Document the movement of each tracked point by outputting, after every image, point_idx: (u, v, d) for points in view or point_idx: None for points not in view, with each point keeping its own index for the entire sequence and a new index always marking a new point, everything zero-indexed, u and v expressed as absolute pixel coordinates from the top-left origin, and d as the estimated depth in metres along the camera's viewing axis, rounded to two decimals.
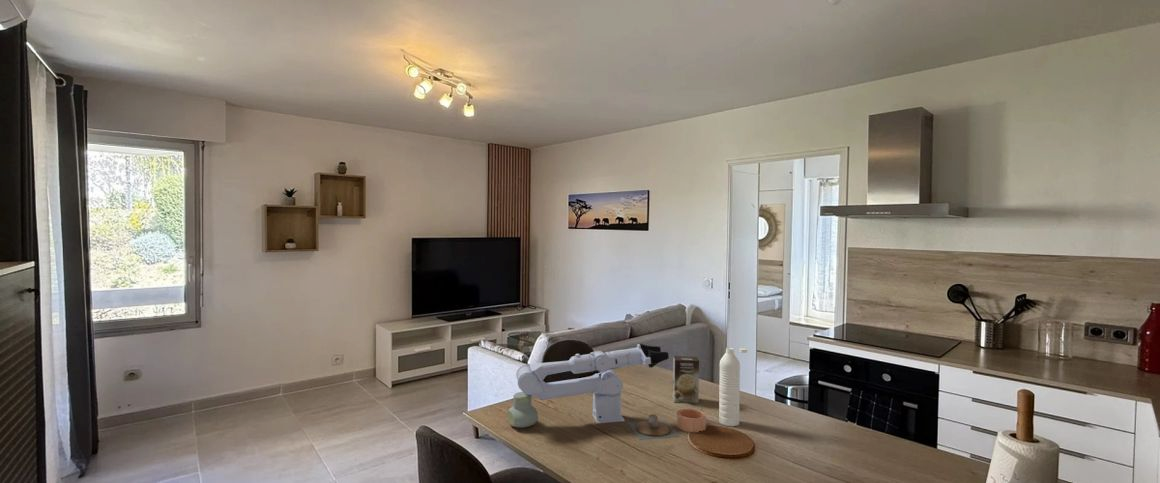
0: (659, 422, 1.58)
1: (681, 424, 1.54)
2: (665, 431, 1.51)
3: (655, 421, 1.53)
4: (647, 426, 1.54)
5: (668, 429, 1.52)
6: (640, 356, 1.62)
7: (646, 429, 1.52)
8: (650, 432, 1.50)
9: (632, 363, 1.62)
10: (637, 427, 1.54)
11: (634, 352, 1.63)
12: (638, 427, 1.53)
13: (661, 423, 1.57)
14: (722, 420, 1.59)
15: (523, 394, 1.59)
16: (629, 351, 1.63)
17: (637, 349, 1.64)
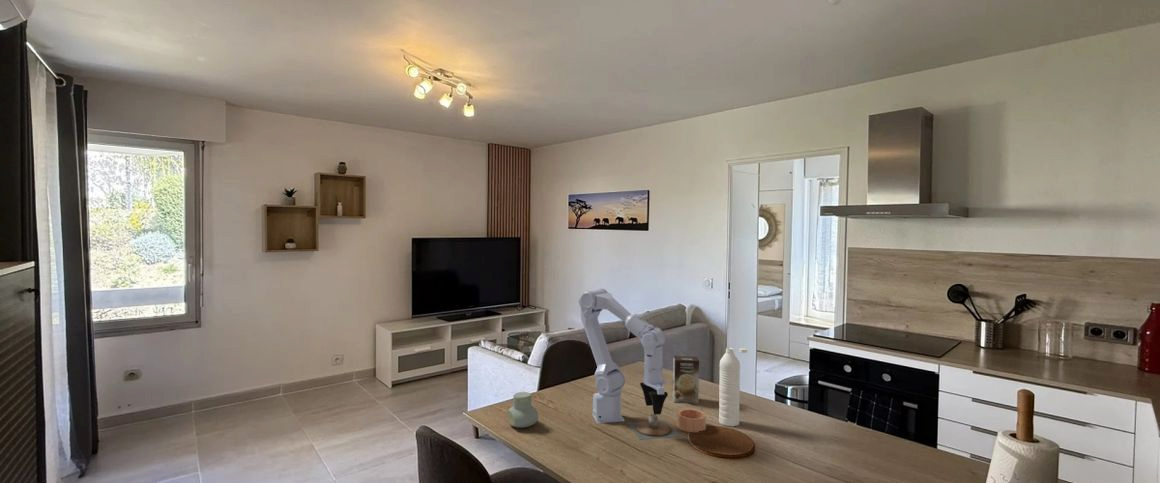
0: (659, 422, 1.58)
1: (681, 424, 1.54)
2: (665, 431, 1.51)
3: (655, 421, 1.53)
4: (647, 426, 1.54)
5: (668, 429, 1.52)
6: (658, 382, 1.51)
7: (646, 429, 1.52)
8: (650, 432, 1.50)
9: (651, 373, 1.51)
10: (637, 427, 1.54)
11: (661, 376, 1.52)
12: (638, 427, 1.53)
13: (661, 423, 1.57)
14: (722, 420, 1.59)
15: (523, 394, 1.59)
16: None
17: (662, 379, 1.53)
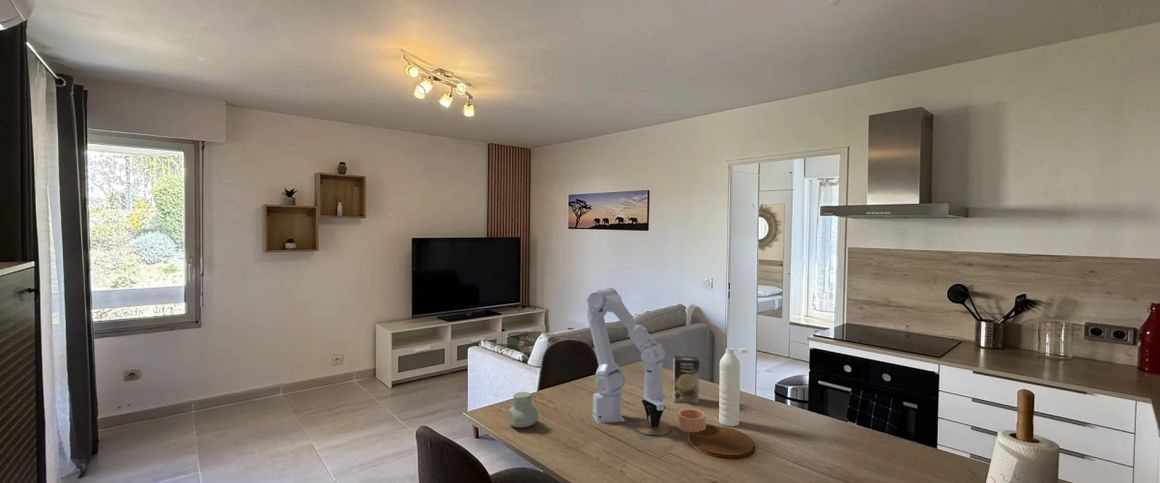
0: (659, 422, 1.58)
1: (681, 424, 1.54)
2: (665, 431, 1.51)
3: None
4: (647, 426, 1.54)
5: (668, 429, 1.52)
6: (658, 398, 1.51)
7: (646, 429, 1.52)
8: (650, 432, 1.50)
9: (651, 389, 1.51)
10: (637, 427, 1.54)
11: (661, 392, 1.52)
12: (638, 427, 1.53)
13: (661, 423, 1.57)
14: (722, 420, 1.59)
15: (523, 394, 1.59)
16: None
17: (662, 395, 1.53)
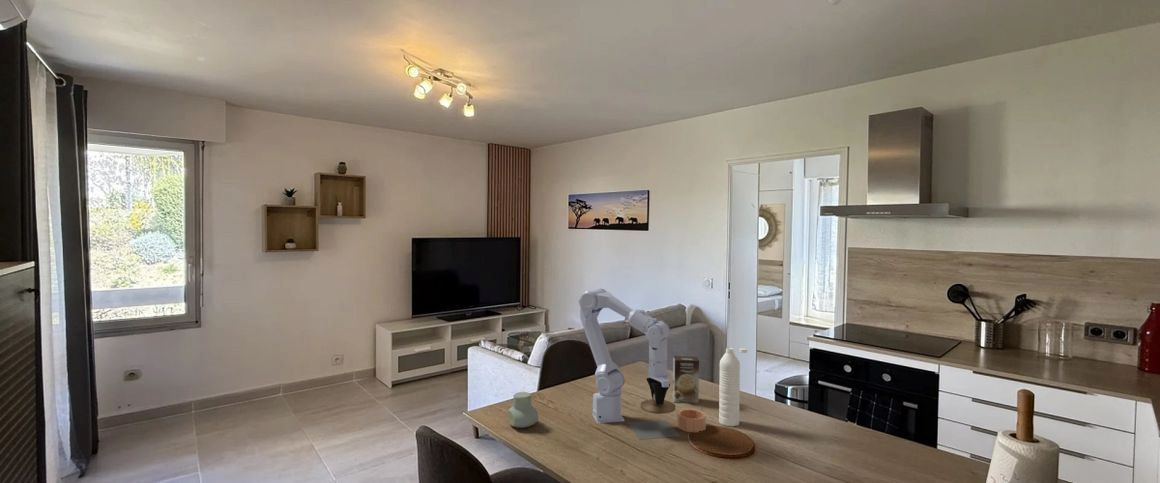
0: (664, 401, 1.58)
1: (681, 424, 1.54)
2: (670, 408, 1.51)
3: None
4: (652, 404, 1.55)
5: (673, 407, 1.52)
6: (662, 375, 1.51)
7: (651, 407, 1.52)
8: (655, 409, 1.50)
9: (655, 366, 1.51)
10: (642, 405, 1.54)
11: (666, 369, 1.52)
12: (642, 405, 1.53)
13: (666, 401, 1.57)
14: (722, 420, 1.59)
15: (523, 394, 1.59)
16: (666, 364, 1.53)
17: (666, 372, 1.53)
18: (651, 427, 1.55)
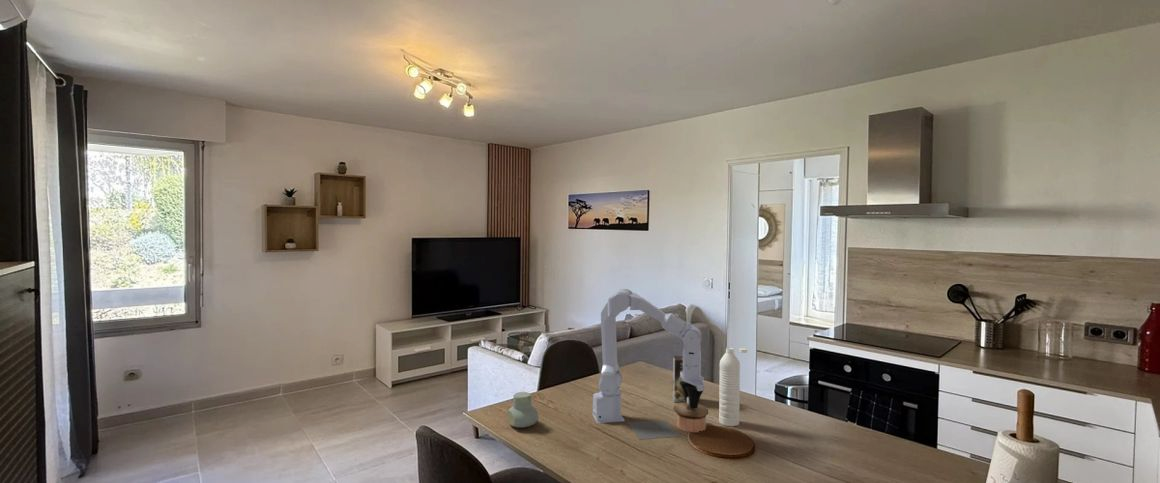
0: None
1: (681, 424, 1.54)
2: (704, 412, 1.53)
3: None
4: (685, 407, 1.57)
5: (706, 411, 1.54)
6: (697, 379, 1.53)
7: (685, 410, 1.54)
8: (689, 413, 1.52)
9: (690, 370, 1.53)
10: (675, 408, 1.56)
11: (700, 373, 1.54)
12: (676, 409, 1.55)
13: (698, 405, 1.59)
14: (722, 420, 1.59)
15: (523, 394, 1.59)
16: (700, 367, 1.55)
17: (700, 376, 1.55)
18: (651, 427, 1.55)
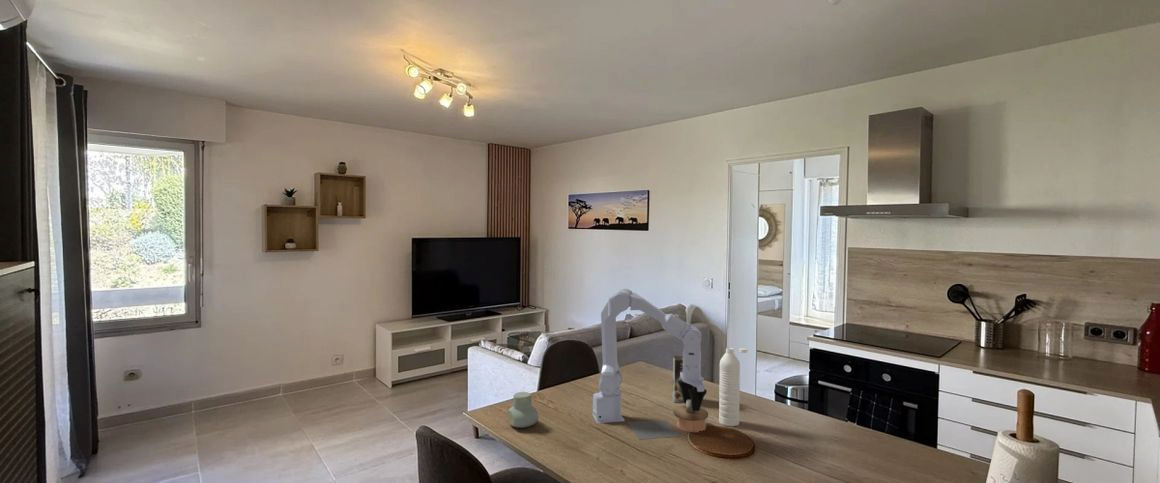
0: None
1: (681, 424, 1.54)
2: (703, 415, 1.53)
3: None
4: (685, 411, 1.57)
5: (706, 414, 1.54)
6: (697, 380, 1.53)
7: (684, 413, 1.55)
8: (689, 416, 1.52)
9: (690, 371, 1.53)
10: (675, 412, 1.56)
11: (700, 374, 1.54)
12: (676, 412, 1.55)
13: None
14: (722, 420, 1.59)
15: (523, 394, 1.59)
16: (700, 368, 1.55)
17: (700, 377, 1.55)
18: (651, 427, 1.55)
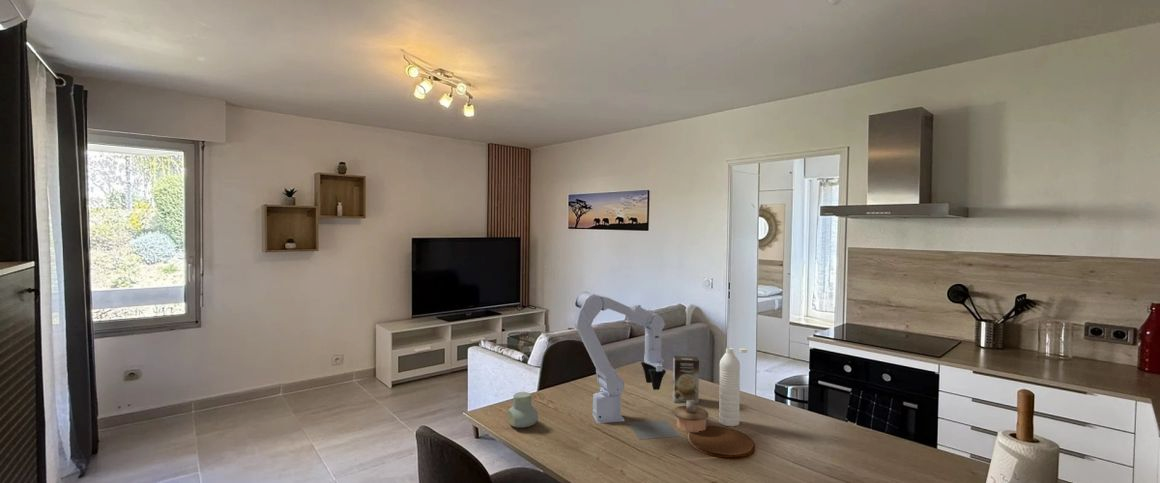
0: (696, 407, 1.60)
1: (681, 424, 1.54)
2: (703, 415, 1.53)
3: (693, 406, 1.55)
4: (685, 411, 1.57)
5: (706, 414, 1.54)
6: (657, 361, 1.66)
7: (684, 413, 1.55)
8: (689, 416, 1.52)
9: (651, 353, 1.66)
10: (675, 412, 1.56)
11: (660, 356, 1.67)
12: (676, 412, 1.55)
13: (698, 408, 1.59)
14: (722, 420, 1.59)
15: (523, 394, 1.59)
16: None
17: None
18: (651, 427, 1.55)
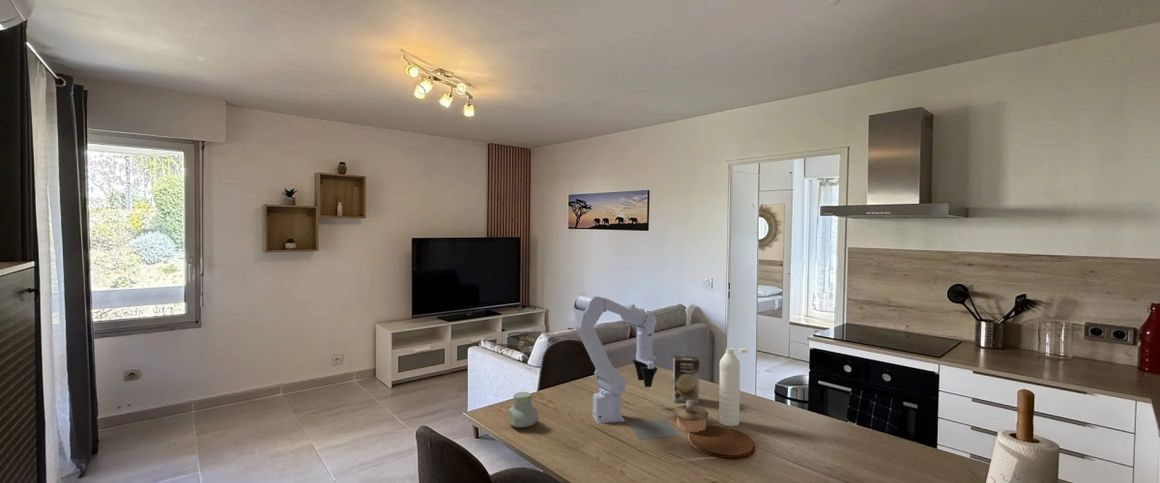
0: (696, 407, 1.60)
1: (681, 424, 1.54)
2: (703, 415, 1.53)
3: (693, 406, 1.55)
4: (685, 411, 1.57)
5: (706, 414, 1.54)
6: (648, 359, 1.69)
7: (684, 413, 1.55)
8: (689, 416, 1.52)
9: (642, 351, 1.69)
10: (675, 412, 1.56)
11: (652, 353, 1.70)
12: (676, 412, 1.55)
13: (698, 408, 1.59)
14: (722, 420, 1.59)
15: (523, 394, 1.59)
16: (652, 348, 1.71)
17: (652, 356, 1.71)
18: (651, 427, 1.55)
